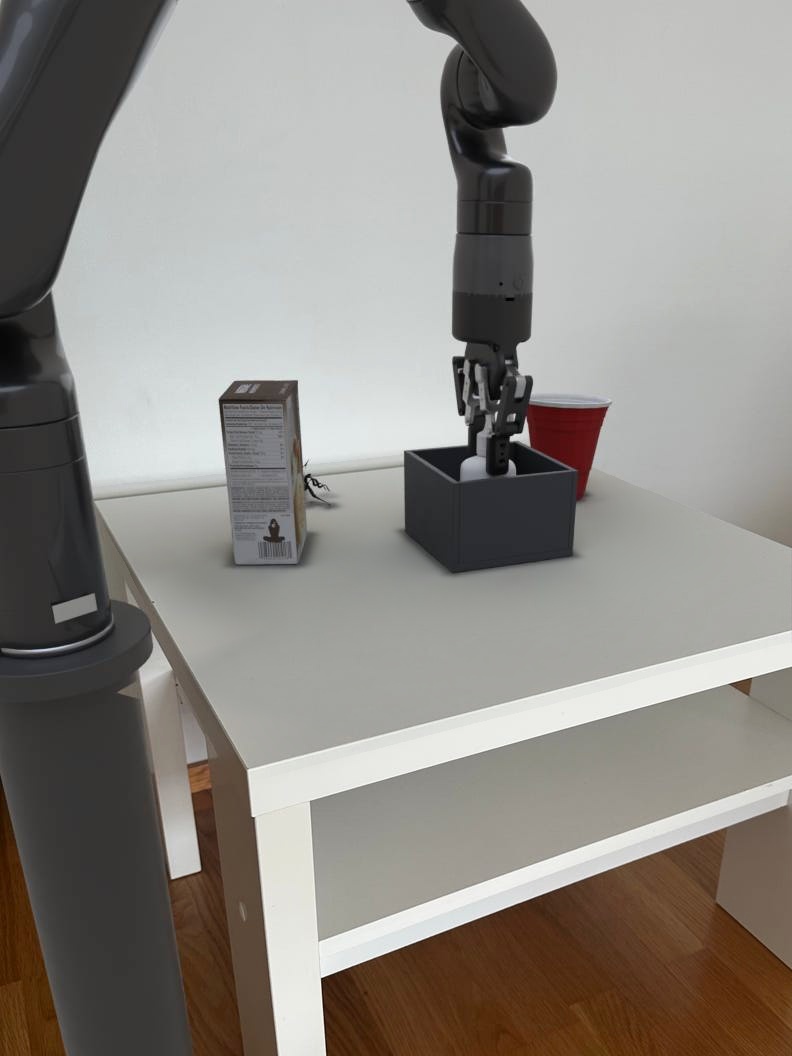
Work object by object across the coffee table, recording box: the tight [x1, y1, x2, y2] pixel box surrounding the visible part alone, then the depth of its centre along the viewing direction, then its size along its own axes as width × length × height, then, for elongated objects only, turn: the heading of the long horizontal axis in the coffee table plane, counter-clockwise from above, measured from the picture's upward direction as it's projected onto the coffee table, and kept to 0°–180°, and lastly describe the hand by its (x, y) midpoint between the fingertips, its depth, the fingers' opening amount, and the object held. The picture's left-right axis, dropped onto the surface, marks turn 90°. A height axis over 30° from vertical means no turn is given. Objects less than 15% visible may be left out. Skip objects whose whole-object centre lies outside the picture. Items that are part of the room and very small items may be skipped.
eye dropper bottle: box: [460, 423, 516, 481], centre depth 95 cm, size 4×6×12 cm
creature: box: [303, 459, 331, 506], centre depth 108 cm, size 8×5×8 cm
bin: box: [403, 440, 578, 574], centre depth 96 cm, size 13×13×9 cm
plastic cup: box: [525, 392, 613, 501], centre depth 112 cm, size 11×11×12 cm
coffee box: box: [218, 379, 308, 566], centre depth 91 cm, size 9×6×16 cm
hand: (487, 467), depth 94 cm, fingers closed on eye dropper bottle, 3 cm apart
